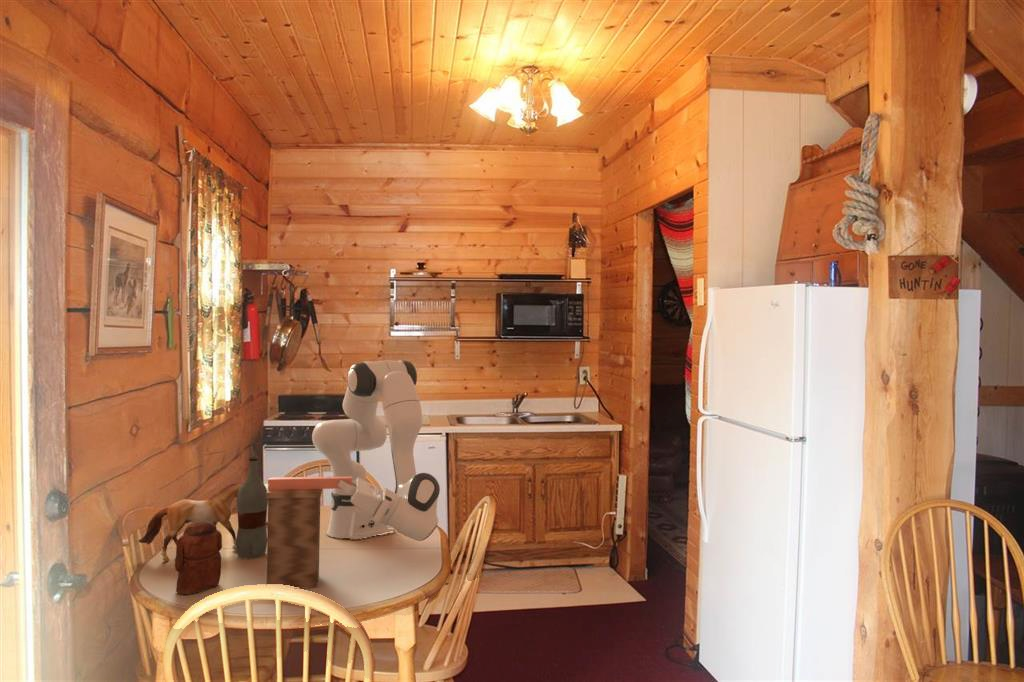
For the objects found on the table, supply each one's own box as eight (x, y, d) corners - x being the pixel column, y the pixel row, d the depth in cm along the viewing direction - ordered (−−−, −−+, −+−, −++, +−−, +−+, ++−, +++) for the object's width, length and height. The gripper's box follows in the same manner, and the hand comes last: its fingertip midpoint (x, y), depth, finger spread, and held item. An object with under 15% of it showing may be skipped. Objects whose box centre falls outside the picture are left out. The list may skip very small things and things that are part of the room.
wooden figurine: (207, 580, 205) (208, 515, 205) (223, 584, 202) (224, 518, 202) (169, 593, 194) (171, 524, 194) (186, 598, 191) (187, 528, 191)
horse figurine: (245, 544, 239) (246, 480, 239) (251, 551, 232) (253, 485, 232) (137, 559, 222) (139, 490, 221) (141, 566, 215) (142, 495, 215)
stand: (320, 575, 211) (322, 484, 210) (318, 588, 201) (320, 491, 201) (268, 578, 208) (270, 484, 208) (264, 590, 198) (266, 492, 198)
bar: (351, 486, 208) (351, 476, 208) (351, 488, 206) (351, 478, 206) (269, 487, 204) (269, 477, 204) (267, 489, 201) (268, 479, 201)
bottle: (240, 550, 233) (241, 454, 232) (270, 550, 234) (272, 454, 233) (231, 559, 223) (233, 459, 223) (263, 559, 224) (265, 459, 224)
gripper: (387, 487, 219) (346, 464, 217) (390, 503, 199) (344, 478, 197) (376, 506, 219) (334, 483, 216) (377, 524, 199) (331, 499, 196)
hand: (339, 480), depth 206 cm, fingers closed on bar, 3 cm apart
